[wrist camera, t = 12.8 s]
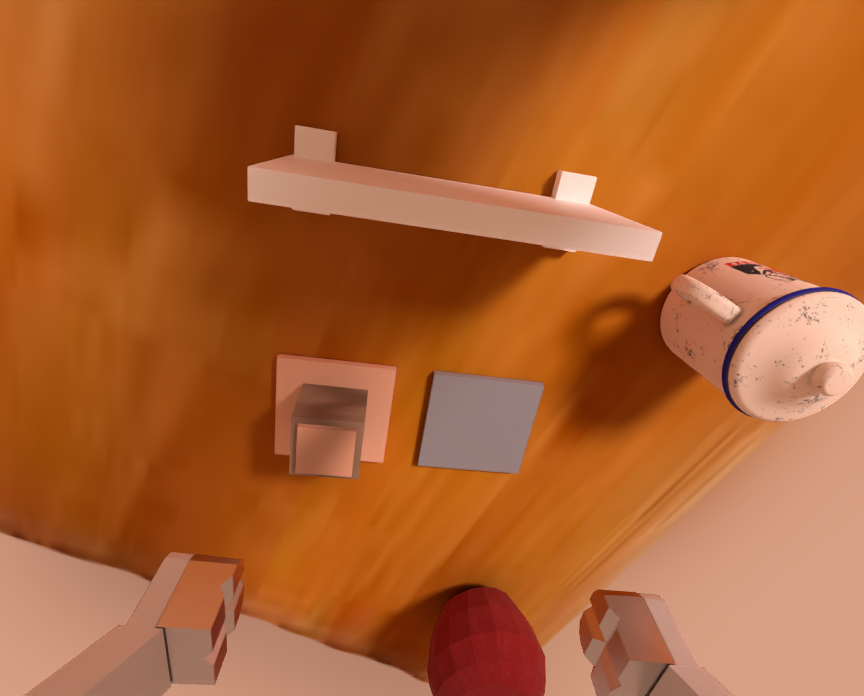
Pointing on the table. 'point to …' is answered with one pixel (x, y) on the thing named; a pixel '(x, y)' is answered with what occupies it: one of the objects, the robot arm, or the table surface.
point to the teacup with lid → (765, 337)
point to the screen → (446, 202)
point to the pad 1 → (339, 375)
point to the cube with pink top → (327, 431)
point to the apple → (484, 648)
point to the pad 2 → (478, 422)
